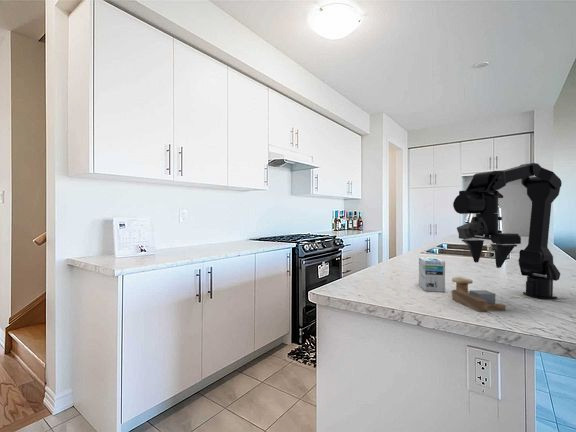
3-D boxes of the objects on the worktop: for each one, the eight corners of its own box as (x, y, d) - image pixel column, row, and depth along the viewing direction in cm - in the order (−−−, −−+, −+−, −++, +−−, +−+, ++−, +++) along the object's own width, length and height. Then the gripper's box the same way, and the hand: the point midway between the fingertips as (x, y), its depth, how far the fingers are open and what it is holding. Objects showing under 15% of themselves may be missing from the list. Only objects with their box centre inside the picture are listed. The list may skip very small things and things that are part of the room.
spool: (464, 291, 106) (464, 277, 105) (476, 296, 100) (476, 281, 100) (448, 291, 105) (448, 277, 105) (459, 296, 99) (459, 281, 99)
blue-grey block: (485, 303, 92) (485, 290, 92) (495, 307, 88) (495, 293, 88) (469, 303, 92) (469, 290, 92) (478, 307, 88) (478, 293, 88)
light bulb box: (445, 292, 104) (445, 261, 104) (424, 291, 106) (424, 260, 106) (436, 285, 115) (437, 256, 115) (417, 284, 116) (418, 256, 116)
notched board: (477, 299, 96) (477, 289, 96) (507, 311, 84) (507, 300, 84) (452, 299, 96) (452, 290, 96) (478, 311, 84) (479, 301, 84)
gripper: (443, 213, 101) (443, 260, 101) (484, 214, 82) (484, 271, 82) (475, 213, 102) (475, 259, 102) (522, 213, 83) (522, 270, 83)
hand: (486, 264), depth 92 cm, fingers open, 9 cm apart
